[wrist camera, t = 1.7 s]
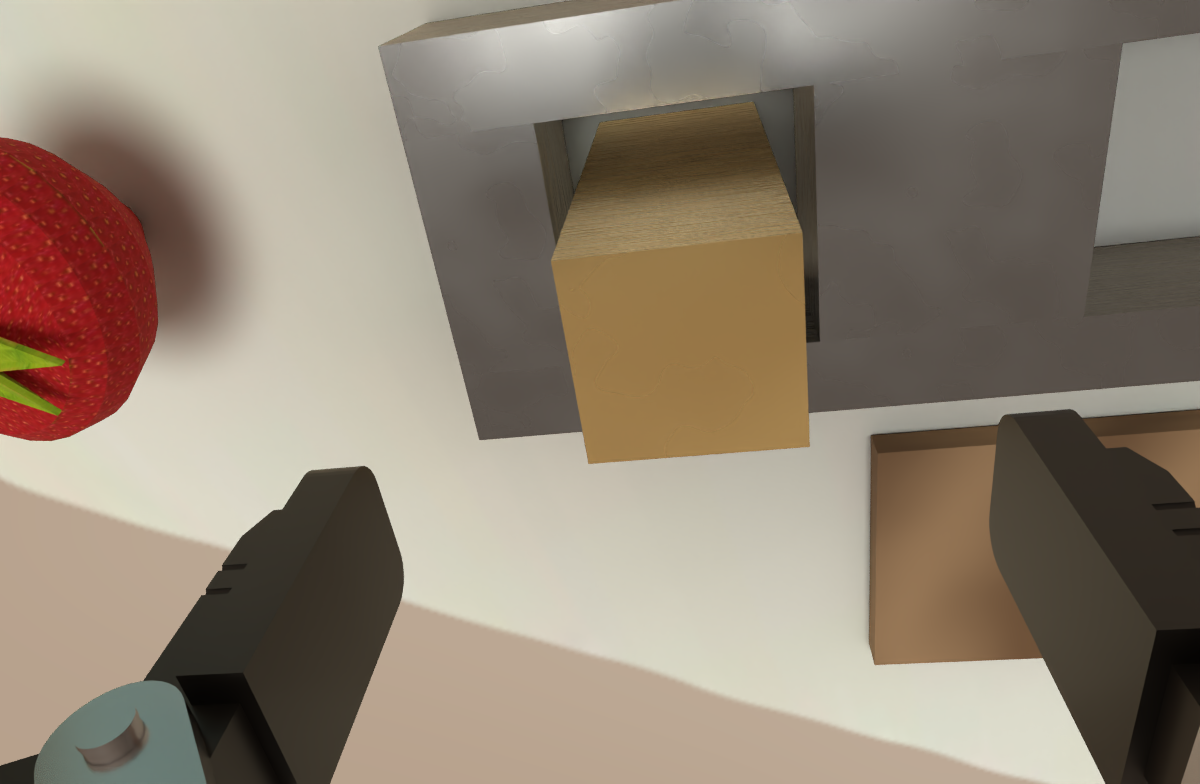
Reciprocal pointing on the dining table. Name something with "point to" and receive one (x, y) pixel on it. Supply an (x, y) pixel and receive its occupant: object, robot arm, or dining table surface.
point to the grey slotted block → (816, 187)
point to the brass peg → (684, 290)
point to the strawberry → (67, 297)
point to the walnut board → (970, 536)
